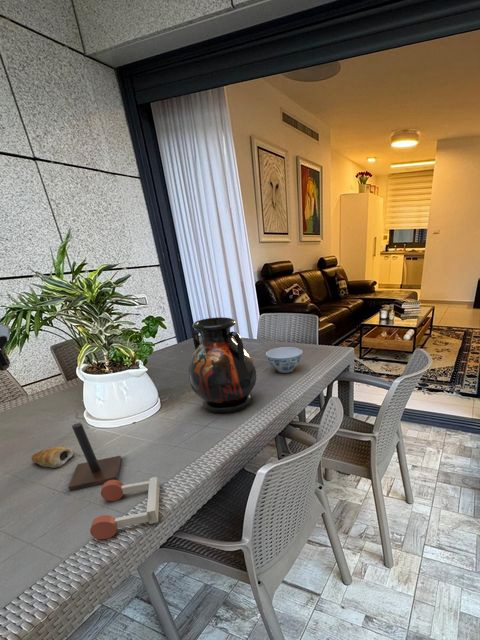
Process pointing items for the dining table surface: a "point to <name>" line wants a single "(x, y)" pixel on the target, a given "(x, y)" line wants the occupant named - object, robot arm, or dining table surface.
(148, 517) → the over-ear headset
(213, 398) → the amphora vase
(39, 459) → the pastry
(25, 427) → the dining table surface
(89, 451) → the headphone stand
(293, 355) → the chinaware
